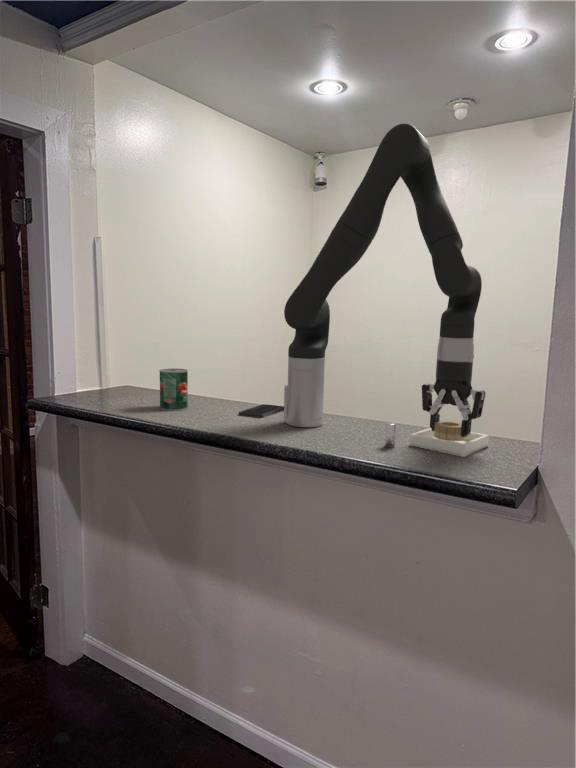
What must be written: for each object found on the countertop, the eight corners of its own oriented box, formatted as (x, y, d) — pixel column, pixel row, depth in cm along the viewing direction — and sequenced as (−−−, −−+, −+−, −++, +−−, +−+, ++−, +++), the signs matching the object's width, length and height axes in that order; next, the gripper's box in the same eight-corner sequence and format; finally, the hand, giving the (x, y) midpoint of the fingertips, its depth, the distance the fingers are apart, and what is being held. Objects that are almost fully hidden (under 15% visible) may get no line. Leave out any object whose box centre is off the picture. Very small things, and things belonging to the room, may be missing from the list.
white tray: (409, 445, 119) (409, 434, 119) (435, 436, 128) (436, 425, 128) (463, 457, 111) (464, 445, 110) (487, 446, 120) (488, 435, 120)
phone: (287, 406, 157) (261, 415, 144) (286, 410, 157) (261, 419, 144) (263, 404, 160) (236, 412, 147) (263, 407, 161) (236, 416, 147)
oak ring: (429, 437, 119) (430, 423, 119) (442, 432, 124) (443, 419, 123) (456, 442, 115) (457, 428, 114) (469, 437, 120) (470, 424, 119)
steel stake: (382, 446, 118) (384, 423, 117) (388, 444, 120) (389, 422, 119) (391, 448, 117) (392, 425, 116) (396, 446, 118) (398, 423, 118)
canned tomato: (190, 410, 153) (190, 371, 151) (162, 411, 150) (161, 372, 148) (184, 404, 160) (184, 368, 158) (157, 406, 157) (157, 368, 155)
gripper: (416, 356, 119) (412, 430, 121) (480, 362, 109) (474, 442, 112) (432, 354, 124) (427, 425, 127) (494, 360, 115) (488, 436, 117)
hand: (449, 433), depth 119 cm, fingers closed on oak ring, 6 cm apart
